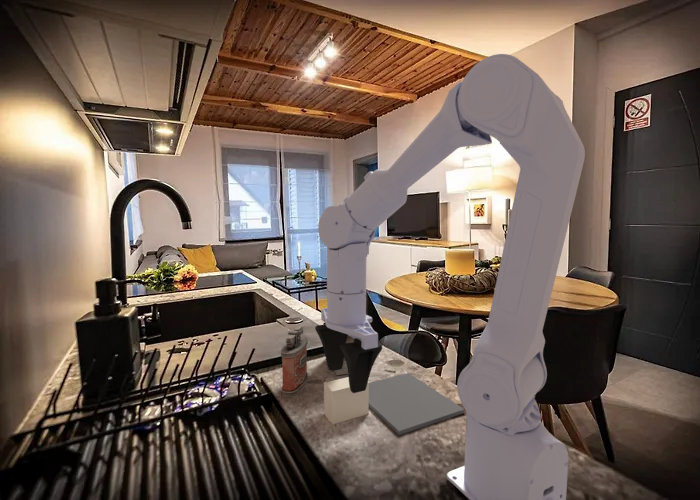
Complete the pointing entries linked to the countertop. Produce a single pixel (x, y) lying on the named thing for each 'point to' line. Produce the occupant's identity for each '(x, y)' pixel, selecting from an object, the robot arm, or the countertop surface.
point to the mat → (409, 403)
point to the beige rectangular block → (344, 401)
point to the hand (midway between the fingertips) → (346, 379)
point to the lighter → (294, 363)
